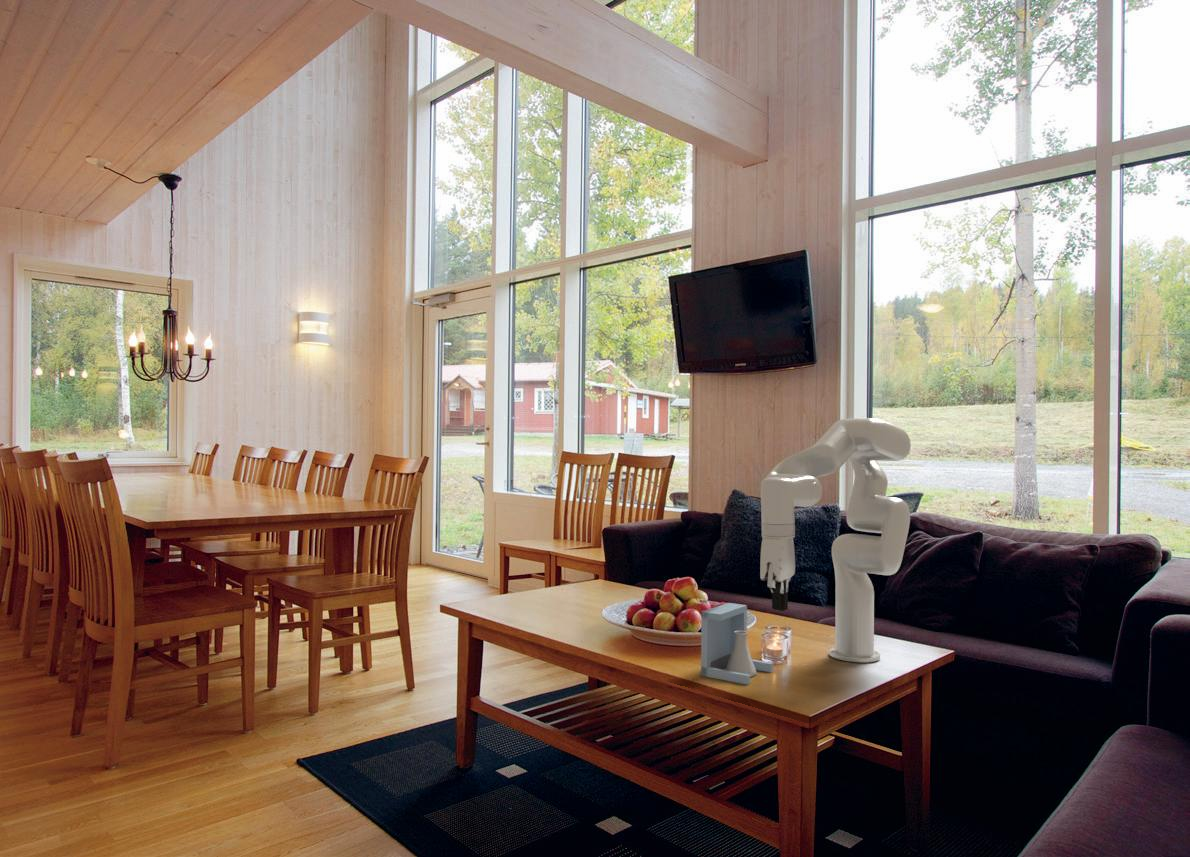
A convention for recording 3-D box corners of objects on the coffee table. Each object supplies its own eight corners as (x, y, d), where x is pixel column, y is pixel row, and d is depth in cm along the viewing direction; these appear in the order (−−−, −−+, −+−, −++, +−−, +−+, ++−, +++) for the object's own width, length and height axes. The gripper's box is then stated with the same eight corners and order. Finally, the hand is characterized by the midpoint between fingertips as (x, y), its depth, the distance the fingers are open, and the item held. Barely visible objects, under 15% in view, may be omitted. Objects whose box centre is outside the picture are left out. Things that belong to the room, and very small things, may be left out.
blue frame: (728, 663, 203) (728, 602, 203) (773, 671, 196) (773, 608, 196) (701, 675, 191) (701, 611, 192) (747, 684, 184) (748, 618, 185)
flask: (762, 675, 192) (762, 632, 193) (741, 680, 188) (741, 636, 188) (740, 668, 198) (740, 627, 199) (718, 673, 194) (719, 630, 194)
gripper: (776, 525, 197) (777, 601, 197) (749, 533, 185) (751, 614, 185) (805, 527, 192) (807, 605, 193) (780, 535, 180) (782, 618, 180)
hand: (779, 609), depth 189 cm, fingers closed
